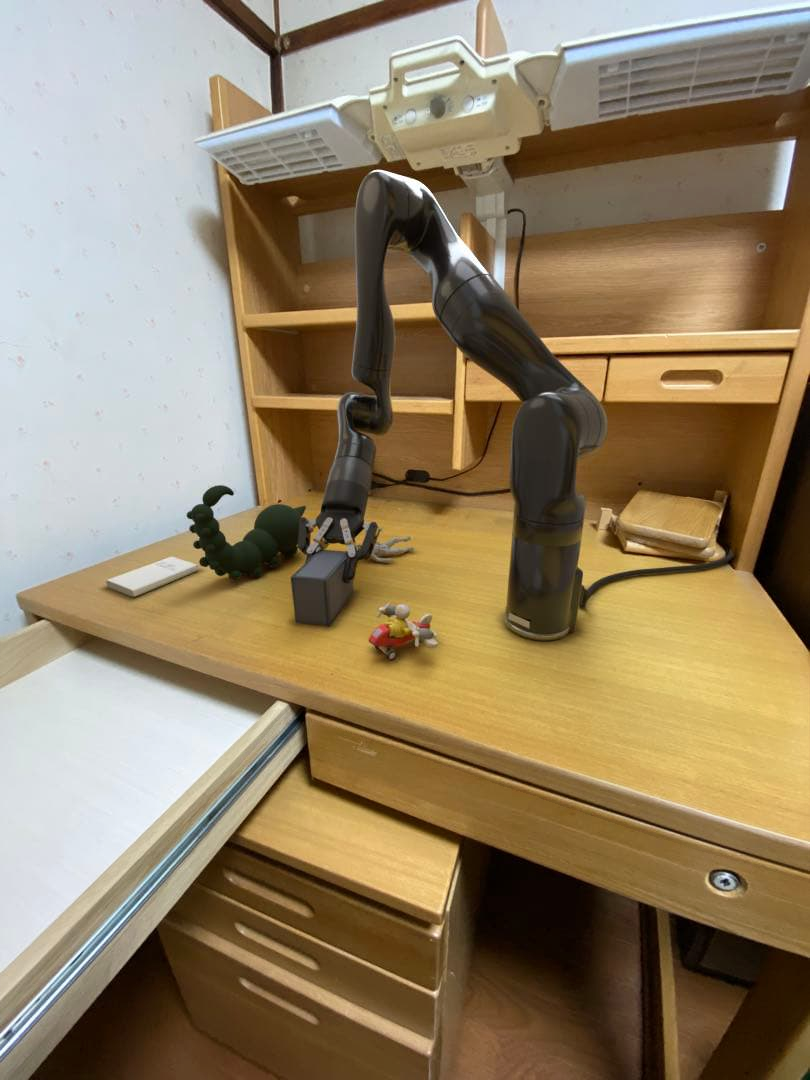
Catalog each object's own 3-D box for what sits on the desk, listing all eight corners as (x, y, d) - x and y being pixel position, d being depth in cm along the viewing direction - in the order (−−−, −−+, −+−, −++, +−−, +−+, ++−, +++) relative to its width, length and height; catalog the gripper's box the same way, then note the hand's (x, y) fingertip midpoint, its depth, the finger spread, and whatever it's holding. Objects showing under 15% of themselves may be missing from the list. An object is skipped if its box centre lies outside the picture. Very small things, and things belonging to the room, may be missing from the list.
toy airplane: (367, 661, 60) (365, 619, 58) (381, 625, 69) (380, 586, 66) (436, 667, 59) (437, 624, 57) (442, 630, 67) (443, 590, 65)
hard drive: (107, 587, 81) (171, 562, 91) (134, 598, 77) (198, 571, 87) (105, 579, 81) (170, 555, 91) (132, 590, 77) (197, 563, 87)
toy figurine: (231, 605, 78) (327, 546, 97) (204, 500, 70) (315, 458, 89) (197, 591, 83) (295, 538, 102) (168, 492, 75) (280, 454, 94)
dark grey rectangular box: (322, 589, 80) (319, 549, 77) (353, 592, 79) (351, 551, 76) (295, 622, 70) (290, 576, 67) (330, 626, 69) (326, 580, 66)
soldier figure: (418, 561, 93) (371, 558, 85) (404, 571, 96) (357, 569, 89) (409, 528, 96) (362, 522, 89) (395, 538, 99) (349, 533, 92)
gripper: (302, 476, 78) (276, 568, 72) (383, 479, 75) (364, 576, 69) (316, 497, 85) (294, 583, 79) (391, 501, 82) (375, 591, 76)
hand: (327, 579), depth 74 cm, fingers closed on dark grey rectangular box, 5 cm apart
